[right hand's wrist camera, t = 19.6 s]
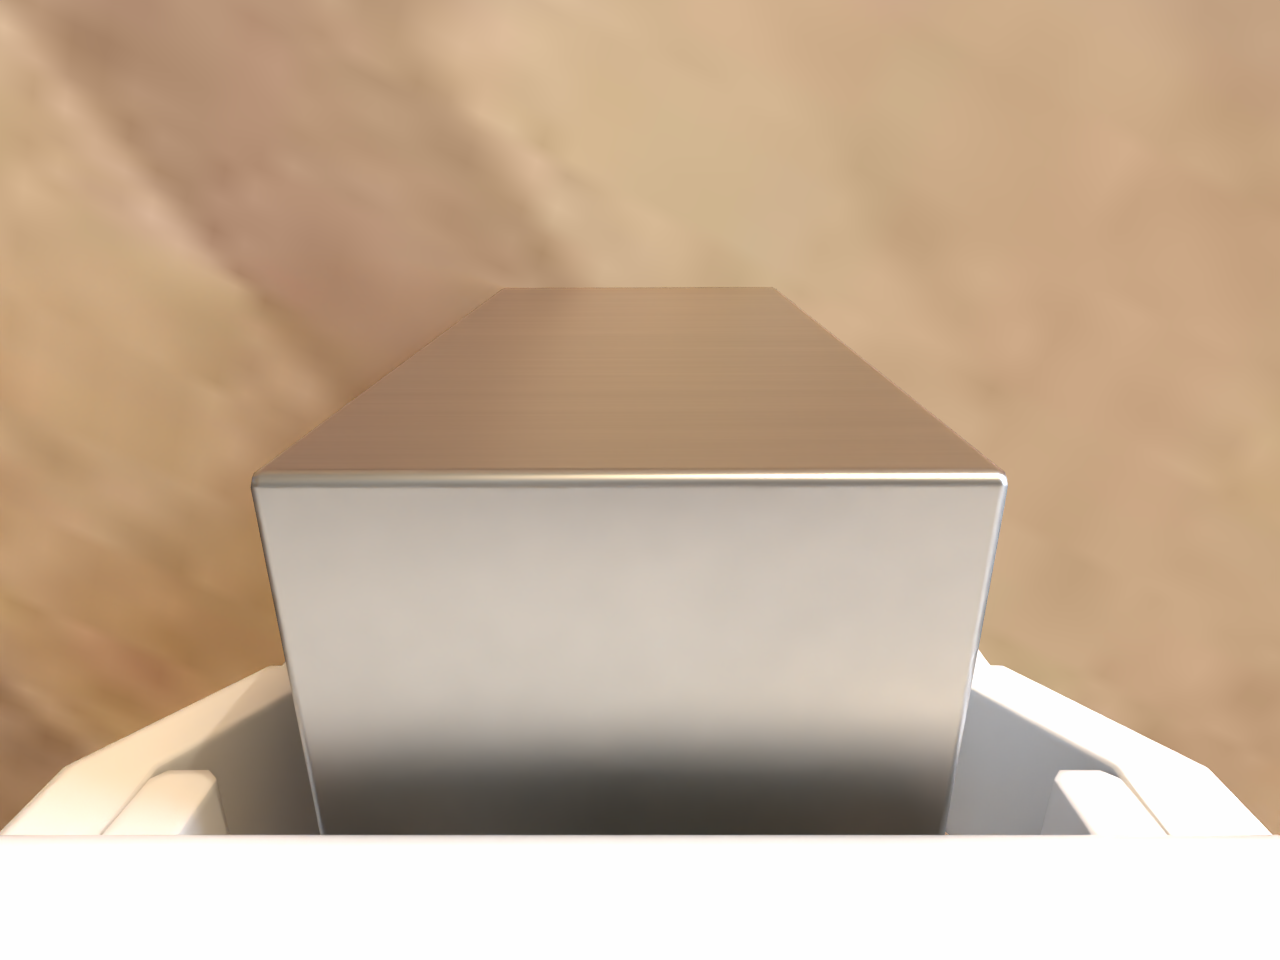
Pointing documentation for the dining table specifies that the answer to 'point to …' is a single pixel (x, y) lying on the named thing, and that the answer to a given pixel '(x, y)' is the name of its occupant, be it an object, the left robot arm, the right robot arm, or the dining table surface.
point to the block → (631, 578)
